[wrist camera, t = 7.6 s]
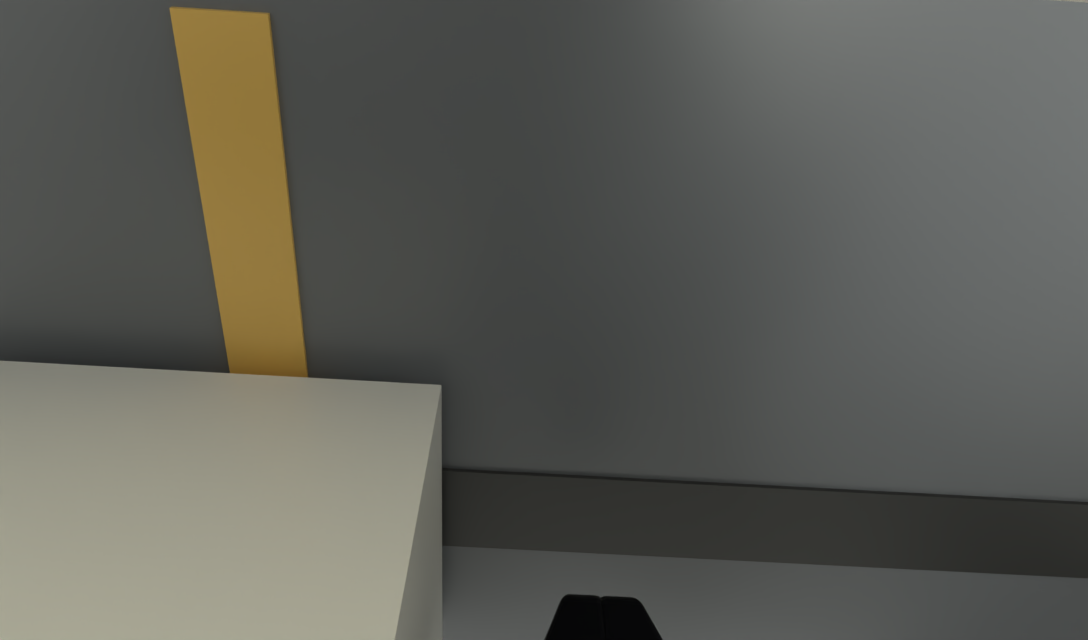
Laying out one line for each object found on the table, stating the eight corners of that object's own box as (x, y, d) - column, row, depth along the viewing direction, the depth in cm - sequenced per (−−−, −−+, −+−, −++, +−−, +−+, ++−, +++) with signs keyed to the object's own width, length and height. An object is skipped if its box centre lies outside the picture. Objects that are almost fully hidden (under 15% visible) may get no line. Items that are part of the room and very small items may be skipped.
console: (1481, 676, 16) (1653, 845, 14) (-27, 602, 16) (-141, 766, 13) (2157, 22, 10) (2720, 112, 7) (-358, -149, 9) (-708, -115, 7)
